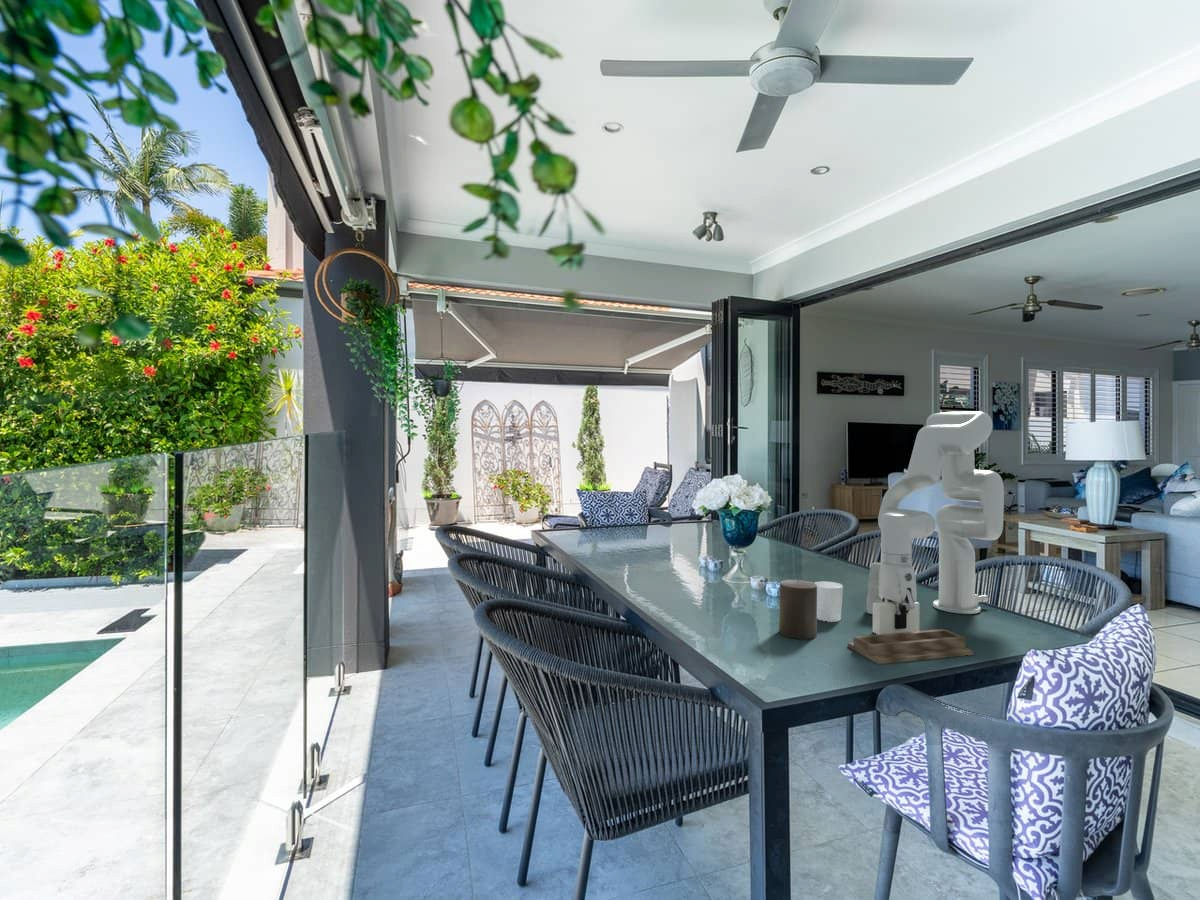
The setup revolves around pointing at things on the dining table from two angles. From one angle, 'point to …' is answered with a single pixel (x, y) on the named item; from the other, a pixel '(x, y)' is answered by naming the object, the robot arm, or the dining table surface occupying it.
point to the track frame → (910, 646)
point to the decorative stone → (873, 587)
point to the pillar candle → (798, 609)
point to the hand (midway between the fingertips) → (895, 625)
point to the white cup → (829, 601)
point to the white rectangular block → (893, 618)
